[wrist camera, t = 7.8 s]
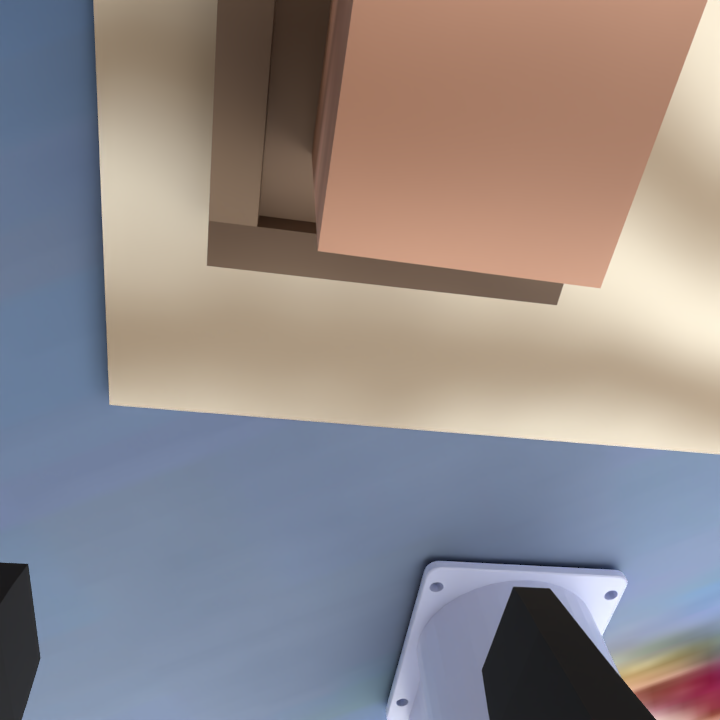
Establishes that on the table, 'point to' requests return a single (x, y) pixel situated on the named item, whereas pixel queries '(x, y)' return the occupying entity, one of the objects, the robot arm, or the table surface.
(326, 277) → the build mat
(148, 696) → the table surface
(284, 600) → the table surface
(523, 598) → the robot arm
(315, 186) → the block
